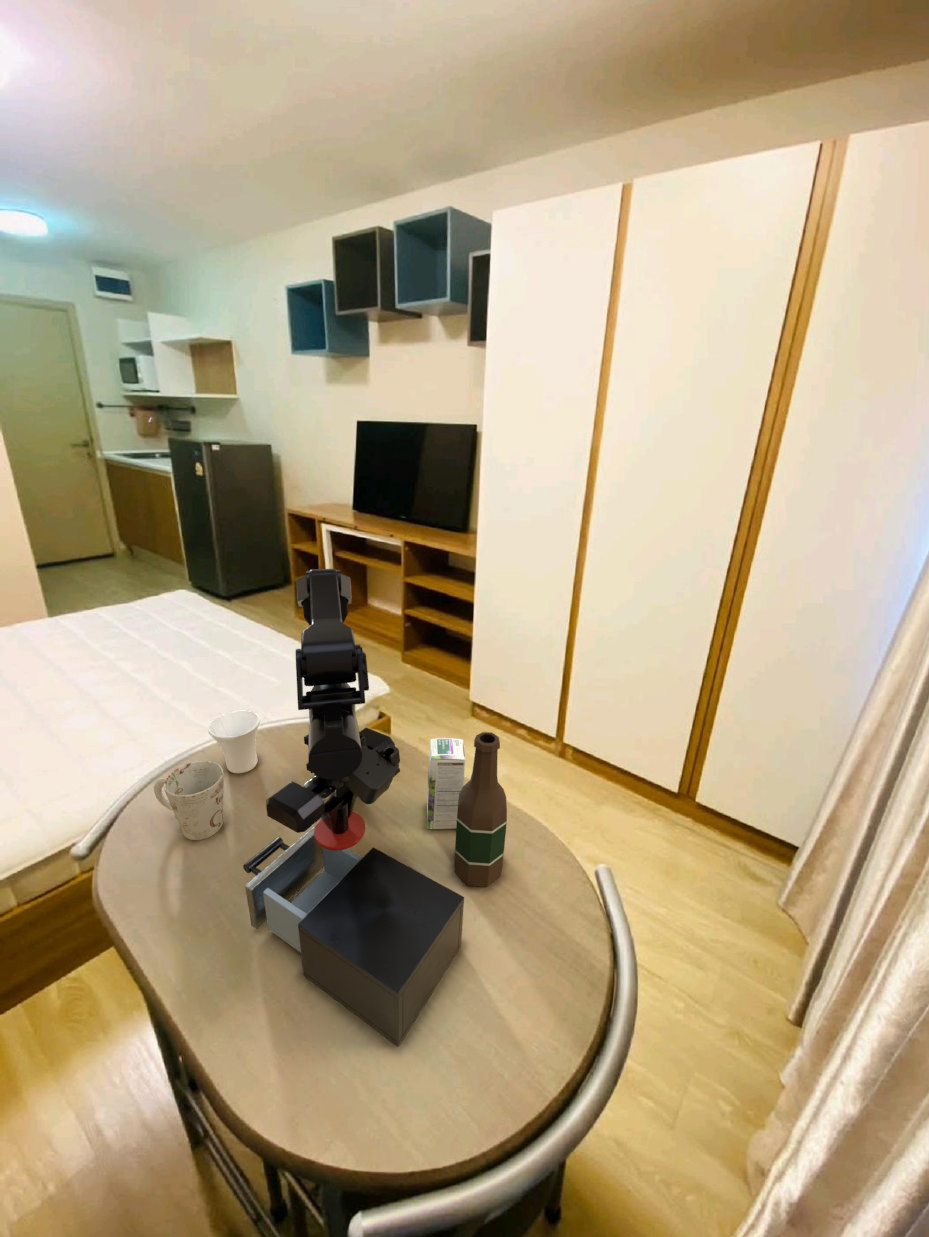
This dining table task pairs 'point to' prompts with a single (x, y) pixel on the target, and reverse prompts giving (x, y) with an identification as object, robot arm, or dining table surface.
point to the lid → (341, 830)
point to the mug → (194, 798)
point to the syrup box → (445, 782)
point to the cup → (237, 738)
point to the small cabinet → (382, 941)
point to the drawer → (293, 883)
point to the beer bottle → (481, 818)
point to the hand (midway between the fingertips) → (339, 823)
